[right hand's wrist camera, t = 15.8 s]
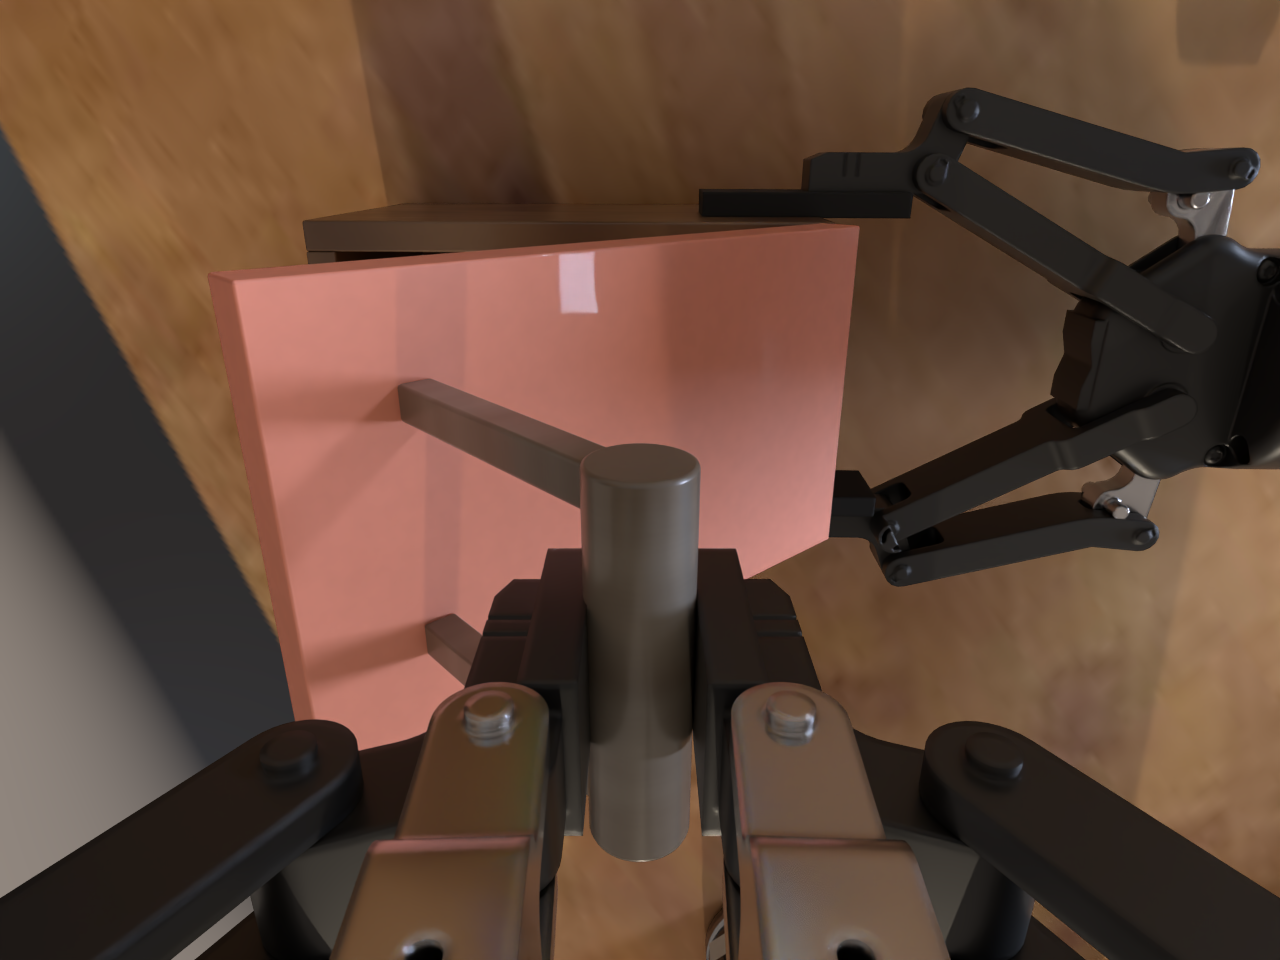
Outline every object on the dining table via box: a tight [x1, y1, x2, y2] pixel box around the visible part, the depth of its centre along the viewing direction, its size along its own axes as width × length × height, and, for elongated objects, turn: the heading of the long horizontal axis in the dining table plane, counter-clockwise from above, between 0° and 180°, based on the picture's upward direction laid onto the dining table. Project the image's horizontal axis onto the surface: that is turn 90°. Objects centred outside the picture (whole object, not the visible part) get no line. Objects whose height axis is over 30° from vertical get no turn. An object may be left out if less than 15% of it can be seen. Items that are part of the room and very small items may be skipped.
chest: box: [303, 203, 835, 264], centre depth 29 cm, size 16×10×10 cm, turn 90°
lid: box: [208, 223, 859, 862], centre depth 17 cm, size 16×10×8 cm
